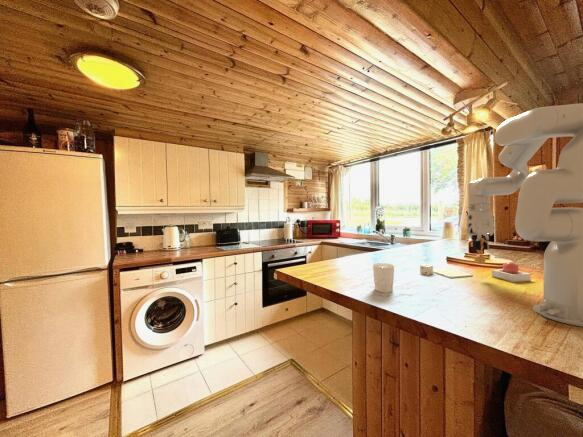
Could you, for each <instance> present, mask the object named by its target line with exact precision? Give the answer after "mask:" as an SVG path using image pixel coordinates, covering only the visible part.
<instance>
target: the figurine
mask: <svg viewBox="0 0 583 437" xmlns="http://www.w3.org/2000/svg"><path fill="white" fill-rule="evenodd" d="M479 241H481V250H476V251H477V254H476V255H475V256H474V258H473V260H474V262H475V263H476V264H478V265H481V264H482V265H483V264H485V263H486V257H485V256H483V254H484V251H483V250H484V249H483V247H484V246H483V242H486V243H487V246H488V249H487V251H488V250H490V245H489V244H490V243H489V241H488V242H487V241H485V240H484V238H482V237H481V238H479ZM470 247H473V242H472V243H471V245H470Z"/></svg>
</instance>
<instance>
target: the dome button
mask: <svg viewBox="0 0 583 437" xmlns="http://www.w3.org/2000/svg"><path fill="white" fill-rule="evenodd" d="M502 269H503V272H505V273H510V274H518V271H519V264H517V263H515V262H512V261H508V262H504V263H502Z"/></svg>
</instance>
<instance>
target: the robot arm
mask: <svg viewBox="0 0 583 437" xmlns="http://www.w3.org/2000/svg"><path fill="white" fill-rule="evenodd" d="M563 137H573V138H571V139H570V140H569V141H568V142H567V143H566V145H565V146H564V147H563V148H562V149H561V151H560V154H559V156H558V162H557V166H556V167H555V169H554V168H552V169H543V170H537V171H534V172H531V173H529V166H528V162H529V161H530V160H531V159H532V158H533V156H534V155H535V154H536V153H537V152H538V151H539V149H540V148H541V147H542V146H543V145H544V144H545V142H546V141H547V140H548V139H550V138H551V139H552V138H563ZM494 142H495V144H496V145H498V146H503V148H502V150H501V152H500V153H499V154H498V158H497V159H498V161H499V162H500V163H501V164H502V165H503V166H505V167H507V168H509V169H512V170H511V171H510V173H509V174H508V175H507V176H494V177H493V176H492V177H481V178H478V179H477V180H474V181H473V180H472V181H470V182H469V183H468V184H467V186H468V188H467V191H468V192H467V193H468V194H467V195H468V197H467V198H468V206H467V209H468V212H467V217H466V236H468V237H469V238H470V239H471V241H472V243H473V244H472V249H473V250H476V251H477V250H479V251H480V250H481V241H479V238H481V237H482V238H484V240H485V241H487V242H488V243H489V240H490V237H491V236H493V235H494V233H495V219H494V214H493V212H492V211H491V196H508V195H511V194H514V193H516V192H517V190H519V193H518V197H517V198H518V199H517V206H516V211H515V220H514V227H515V228H514V229H515V231H516V233H517V235H518V236H519V237H520V238H521V239H523V240H526V241H528V242H529V241H530V242H549V243H548V245H547V247H546V249H545V250H544V254H543V299H542V300H541V301H542V303H541V304H536V305H535V304H534V305H533V306H532V310H533V311H534V312H535V313H537V314H539V315H540V316H543V317H544V318H546V319H549V320H552V321H555V322H557V323H558V322H559V323H562V324H566V325H571V326H577V327H582V328H583V207H575V206H574V207H573V206H570V207H569V206H567V207H553V206H554V204H555V205H556V204H558V205H559V204H563V205H564V204H579V203H583V103H581V102H580V103H571V104H562V105H561V104H560V105H559V104H558V105H550V106H549V105H547V106H539V107H535V108H533V109H529V110H527V111H524V112H522V113H520V114H518V115H515V116H512V117H511V118H508V119H506V120H505V121H503V122H502V123H501V124H500V125H499V126H498V127H497V129H496V131H495V132H494ZM483 246H484V247H483V249H482V250H485V251H488V246H487V243H486V242H483ZM482 250H481V251H482Z"/></svg>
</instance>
